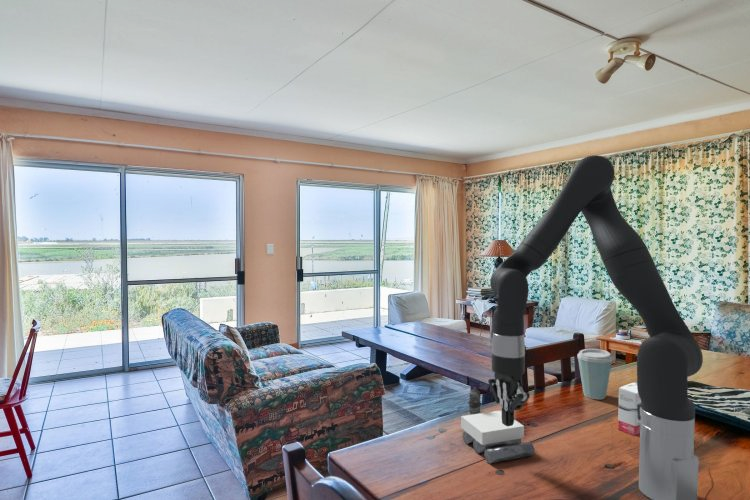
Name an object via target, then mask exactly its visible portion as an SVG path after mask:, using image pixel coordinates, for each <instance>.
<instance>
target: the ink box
mask: <svg viewBox="0 0 750 500" xmlns="http://www.w3.org/2000/svg"><path fill="white" fill-rule="evenodd" d="M617 414H618V415H617V421H618V422H617V423H618V424H617V429H618V430H619V431H622V432H624V433H626V434H627V433H628V434H629V435H632V436H637V435H640V421H641V399H640V397H639V394H638V390H637V382H631V383H628V384H625V385H622V386H620V387H619V388H618V413H617Z"/></svg>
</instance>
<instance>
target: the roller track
mask: <svg viewBox="0 0 750 500" xmlns="http://www.w3.org/2000/svg"><path fill="white" fill-rule="evenodd" d="M462 439H463V443H465V444H466V445H469V444H472V447H473V450H474V452H475V453H476V454H481V453H483V455H484V460H485V461H486V462H487V464H493V463H494V464H495V463H500V462H504V461H506V462H507V461H511V460H516V459H520V458H526V457H532V456H534V455H535V453H536V452H535V447H534V445H533V443H531V442H530V441H527V442H522V438H521V439H515V440H509V441H503V442H497V443H491V444H485V445H481V444H480V443H479V442H478V441H477V440H475V439H474V438H473V437H472V436H471V435H469V434H468V433H467V432H466V431H465V430H463V432H462Z"/></svg>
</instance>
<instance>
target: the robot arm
mask: <svg viewBox="0 0 750 500" xmlns="http://www.w3.org/2000/svg"><path fill="white" fill-rule="evenodd" d="M614 168H615V167H614V166H613V164H612V162H611V160H609V159H608V158H607V157H604V156H601V155H594V154H593V155H587V156H586V157H583V158H582V159H580V160H579V161H577V163H576V164H575V165H574V166H573V168H572V170H571V172H570V174H569V176H568V178H567V180H566V182H565V184H564V185H563V187H562V189H561V190H560V192H559V194H558V195H557V196H556V198H555V199H554V201H553V202H552V204H551V205H550V206H549V208H548V209H547V210H546V212H545V213H544V214H543V215H542V216H541V218H540V219H539V220H538V222H537V223H536V224H535V225H534V226H533V227H532V229H531V230H530V231H529V232H528V234H527V235H526V236H525V237H524V238H523V239H522V241H521V242H520V244H519V245H518V247H517V248H516V249H515V250H514V251H513V252H512V253H511V254H510V255H509V256H508V257H507V258H505V260H503V261H502V263H500V264H499V265H498V267H496V269H495V270H494V271H493V273H492V274H491V277H490V282H489V283H490V288H491V290H492V291H493V292H494V293H495V294H496V295H497V296H498V297H497V299H498V300H497V308H496V309H495V310H494V312H493V316H492V317H493V318H492V338H491V370H492V372H493V373H494V375H493V376H494V377H493V378H489V379H488V380H487V381H488V385H489V387H490V390H491V392H492V396H493V397H494V401H495V403H496V404H499V408H501V411H502V424H504V425H505V426H512V425H513V424H514V420H515V411H519V410H520V411H521V409H522V408H523V406H524V405H525V404H526V403H527V401H528V400H529V398H530V393H529V392H525V391H524V389H523V380H522V376H523V375H524V374H525V372H526V363H525V362H526V361H525V359H526V357H525V354H526V344H525V343H526V342H525V333H524V332H525V312H526V307H527V304H528V303H527V302H528V297H529V281H528V279H527V277H528V276H529V275H530V273H532V272H533V271H536V270H539V269H540V268H541V267H542V266H544V264H545V262H547V260H548V259H549V258H550V257H551V256H552V254H553V253H554V252H555V250H556V249H557V248H558V246H559V245H560V243H561V242H562V241H563V239H564V237H565V236H566V234H567V232H568V231H569V229H570V228H571V226H572V225H573V223H574V222H575V220H576V219H577V217H578V216H579V215H580V213H581V214H582V215H583V217H584V218H585V220H586V222H587V224H588V226H589V229H590V231H591V235H592V238H593V240H594V243H595V246H596V249H597V250H598V254H599V255H600V258H601V261H602V263H603V266H604V268H605V271H606V273H607V274H608V276H609V279H610V281H611V282H612V284H613V285H614V287H615V288H616V290H617V291H618V292H619V293H620V294H621V296H622V297H624V298H625V300H626V301H627V302H628V303H629V304H630V305H631V306H632V308H634V310H636V312H637V313H638V315H639V316H640V318H641V320H642V321H643V323H644V326H645V328H646V331H647V333H648V335H649V337H648V338H645V339H644V340H643V341H642V342H641V344H640V345H639V346H638V351H637V355H636V383H637V390H638V394H639V397H640V399H641V421H640V434H639V458H638V459H639V460H638V461H639V462H638V489H639V491H640V492H641V493H642V494H643V495H645V497H647V498H649V499H650V500H698V490H699V489H698V487H699V463H700V462H699V461H700V459H699V457H698V455H695V454H694V452H695V450H694V449H695V446H694V445H695V423H696V421H695V420H696V405H695V403H694V402H693V401H692V400H691V399H690V398H689V396H688V394H689V393H688V378H689V377H691V376H693V375H696V374H697V373H698V372H699V371H700V369H702V366H703V362H704V361H703V360H704V359H703V358H704V356H703V352H702V349H701V346H700V345H699V343H698V342H697V340H696V337H694V335H693V333H692V331H691V330H690V329H689V327H688V325H687V324H686V322H685V321H684V319H683V317H682V315H680V313H679V311H678V308H677V307H676V306H675V304H674V302H673V299H672V298H671V295H670V293H669V291H668V288H667V287H666V284H665V283H664V280H663V279H662V276H661V274H660V273H659V270H658V267H657V265H656V263H655V261H654V259H653V257H652V255H651V253H650V251H649V248H648V246H647V245H646V243H645V241H644V240H643V239H642V237H641V236H640V235H639V233H638V232H637V231H636V229H634V228H633V227H632V226H631V225H630V223H628V222H627V221H626V219H625V218H624V217H623V216H622V213H621V211H620V209H619V208H618V206H617V203H616V200H615V198H614V195H613V193H612V192H613V191H612V184H613V183H614V180H615V169H614Z"/></svg>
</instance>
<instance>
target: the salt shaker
mask: <svg viewBox="0 0 750 500" xmlns="http://www.w3.org/2000/svg"><path fill="white" fill-rule="evenodd" d="M468 400H469V401H468V402H467V404H468V413H465V414H463V416H466V415H473V414H480V413H482V412H481V406H482V402H481V392H480V390H478V389H477V388H476V386H474V387H473V389H471V390H470V391H469V399H468Z"/></svg>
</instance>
